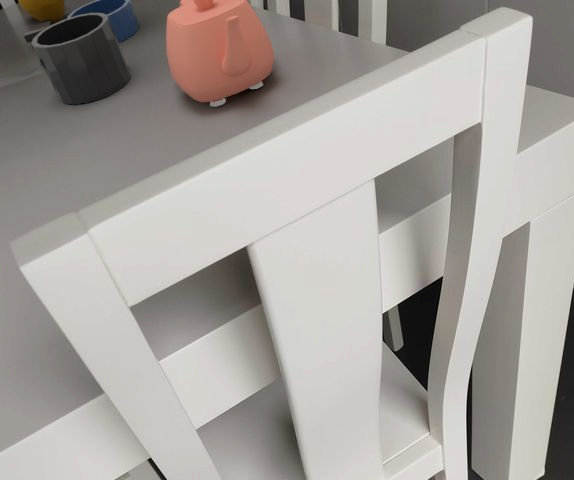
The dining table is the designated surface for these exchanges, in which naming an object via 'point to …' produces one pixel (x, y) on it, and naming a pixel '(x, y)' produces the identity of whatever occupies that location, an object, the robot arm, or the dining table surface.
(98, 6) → the pan
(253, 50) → the teapot
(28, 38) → the pan handle
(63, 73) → the pot
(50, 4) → the apple
